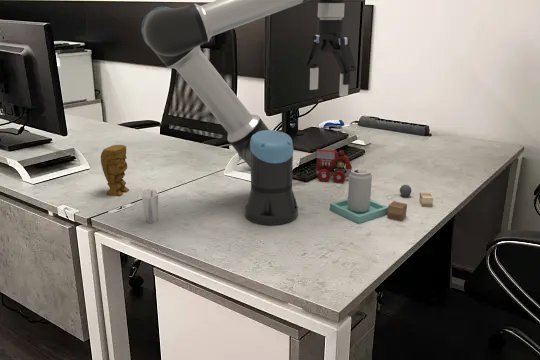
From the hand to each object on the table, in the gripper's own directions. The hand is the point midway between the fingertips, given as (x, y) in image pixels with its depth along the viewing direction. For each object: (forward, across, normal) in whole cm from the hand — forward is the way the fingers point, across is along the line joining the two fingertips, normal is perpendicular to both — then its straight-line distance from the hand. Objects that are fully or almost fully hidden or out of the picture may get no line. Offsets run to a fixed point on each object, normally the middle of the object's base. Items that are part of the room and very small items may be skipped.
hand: (328, 92), depth 157 cm
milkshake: (+32, +9, +55) cm, 64 cm away
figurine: (+32, +37, +55) cm, 74 cm away
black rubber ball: (+30, -18, -18) cm, 39 cm away
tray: (+32, -19, +3) cm, 37 cm away
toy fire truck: (+32, +7, -10) cm, 34 cm away
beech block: (+32, -26, -18) cm, 45 cm away
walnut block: (+32, -28, -3) cm, 42 cm away
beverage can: (+31, -19, +3) cm, 37 cm away
